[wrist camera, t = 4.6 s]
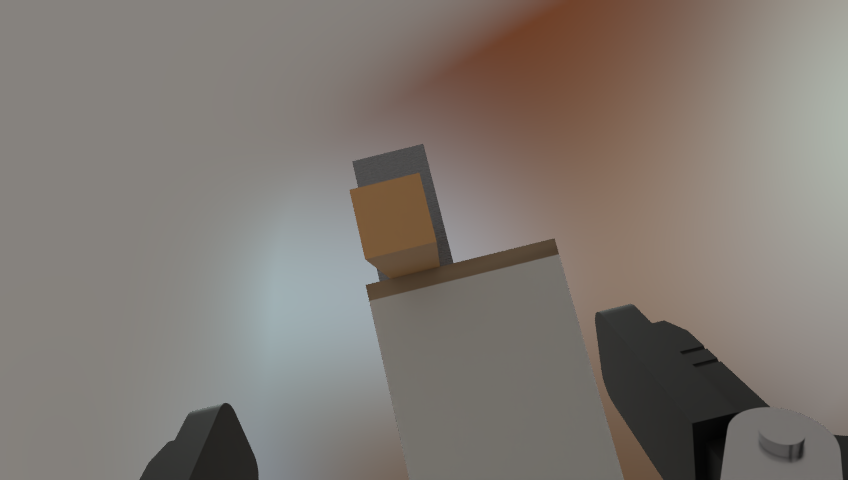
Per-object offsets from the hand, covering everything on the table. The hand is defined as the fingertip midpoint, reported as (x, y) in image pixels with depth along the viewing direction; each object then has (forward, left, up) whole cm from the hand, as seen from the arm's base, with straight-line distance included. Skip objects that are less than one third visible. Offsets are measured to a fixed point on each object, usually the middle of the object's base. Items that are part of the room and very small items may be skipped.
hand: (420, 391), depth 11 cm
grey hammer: (+7, -12, +4) cm, 14 cm away
